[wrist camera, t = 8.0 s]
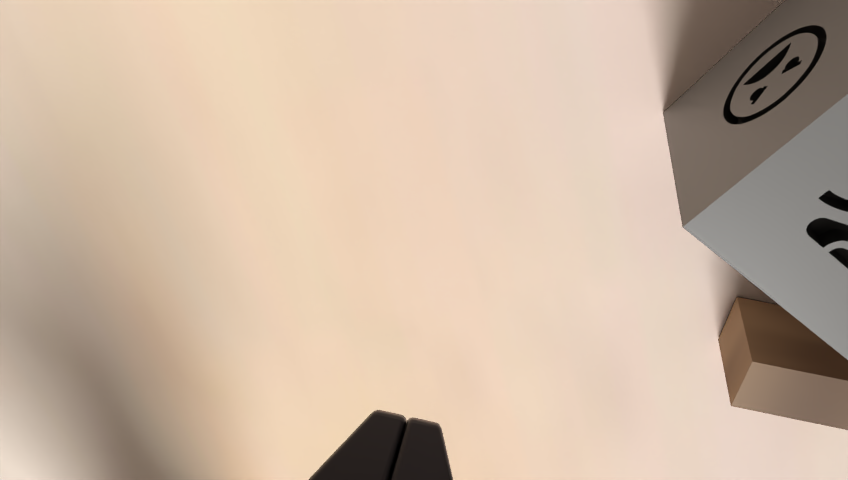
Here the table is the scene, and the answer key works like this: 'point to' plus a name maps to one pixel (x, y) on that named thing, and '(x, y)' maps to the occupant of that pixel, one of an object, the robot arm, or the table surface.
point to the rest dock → (782, 366)
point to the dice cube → (774, 161)
